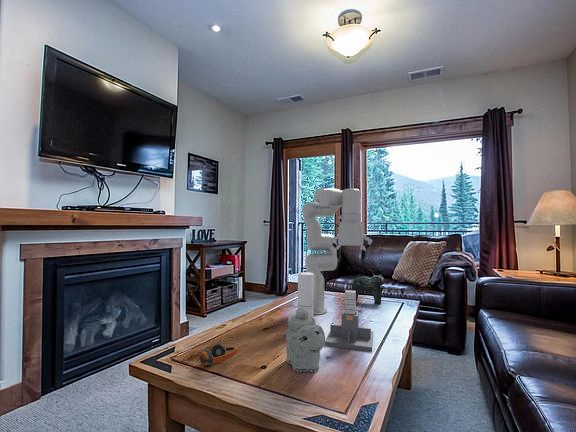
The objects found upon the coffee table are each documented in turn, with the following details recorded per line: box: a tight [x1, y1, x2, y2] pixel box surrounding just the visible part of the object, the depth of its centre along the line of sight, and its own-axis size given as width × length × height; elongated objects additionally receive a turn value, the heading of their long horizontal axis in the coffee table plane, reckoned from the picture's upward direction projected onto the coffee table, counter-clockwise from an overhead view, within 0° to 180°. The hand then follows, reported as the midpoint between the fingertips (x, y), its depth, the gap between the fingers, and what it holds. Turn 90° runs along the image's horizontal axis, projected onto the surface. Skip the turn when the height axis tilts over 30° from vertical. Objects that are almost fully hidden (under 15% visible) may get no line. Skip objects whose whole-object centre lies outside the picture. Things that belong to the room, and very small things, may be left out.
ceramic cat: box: [350, 269, 385, 305], centre depth 190 cm, size 20×6×20 cm, turn 58°
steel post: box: [344, 289, 357, 315], centre depth 128 cm, size 4×4×18 cm
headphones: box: [180, 343, 238, 367], centre depth 107 cm, size 17×5×20 cm
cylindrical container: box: [297, 271, 314, 318], centre depth 141 cm, size 7×7×25 cm
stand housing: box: [324, 309, 374, 352], centre depth 128 cm, size 18×18×11 cm
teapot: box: [285, 306, 326, 373], centre depth 103 cm, size 16×15×19 cm
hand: (350, 259), depth 128 cm, fingers open, 9 cm apart
